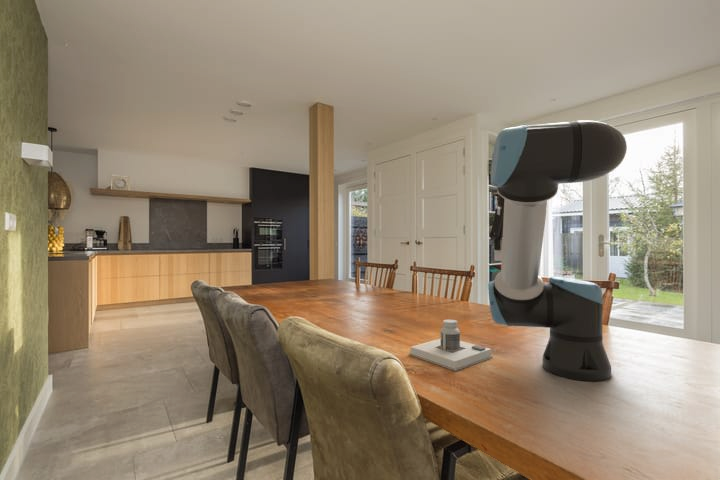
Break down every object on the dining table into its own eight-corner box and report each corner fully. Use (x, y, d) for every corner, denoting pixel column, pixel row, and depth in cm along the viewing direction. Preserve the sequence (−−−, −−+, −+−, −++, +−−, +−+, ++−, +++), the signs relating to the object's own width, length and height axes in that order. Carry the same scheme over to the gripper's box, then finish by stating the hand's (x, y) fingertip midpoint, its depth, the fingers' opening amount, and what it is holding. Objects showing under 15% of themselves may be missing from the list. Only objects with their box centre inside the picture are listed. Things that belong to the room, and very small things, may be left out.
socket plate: (492, 357, 104) (492, 346, 104) (455, 371, 94) (455, 359, 94) (446, 344, 117) (446, 334, 117) (409, 354, 107) (409, 344, 107)
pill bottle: (463, 354, 105) (463, 320, 105) (453, 359, 101) (453, 324, 101) (447, 350, 109) (447, 317, 109) (436, 354, 105) (436, 321, 105)
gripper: (517, 197, 130) (517, 257, 130) (477, 193, 114) (478, 261, 115) (538, 195, 124) (539, 257, 125) (500, 190, 108) (500, 262, 109)
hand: (510, 259), depth 120 cm, fingers open, 13 cm apart
